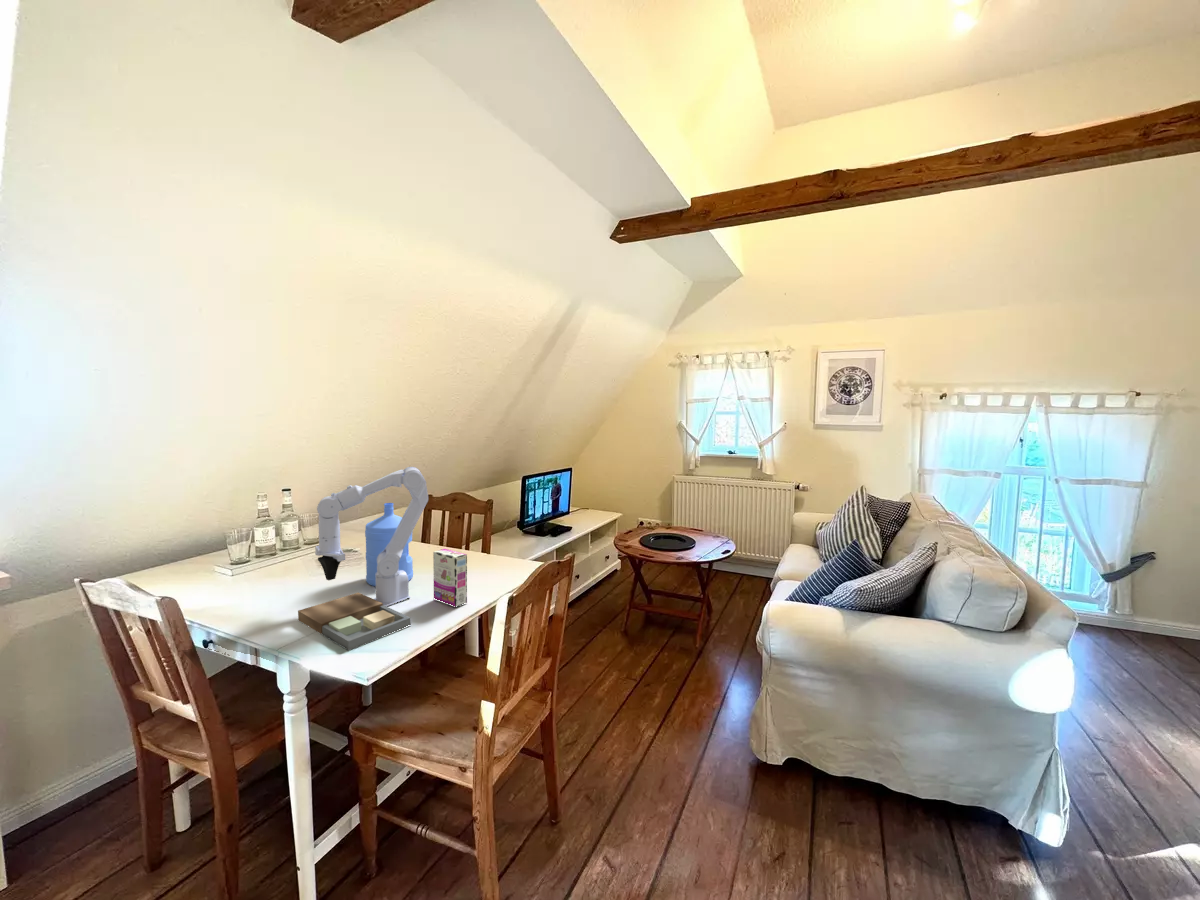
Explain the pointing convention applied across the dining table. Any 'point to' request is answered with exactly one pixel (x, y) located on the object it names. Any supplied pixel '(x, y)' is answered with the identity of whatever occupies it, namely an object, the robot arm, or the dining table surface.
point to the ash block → (378, 619)
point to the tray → (366, 631)
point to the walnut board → (338, 610)
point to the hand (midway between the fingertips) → (330, 579)
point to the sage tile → (346, 625)
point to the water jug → (384, 543)
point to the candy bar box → (450, 577)
